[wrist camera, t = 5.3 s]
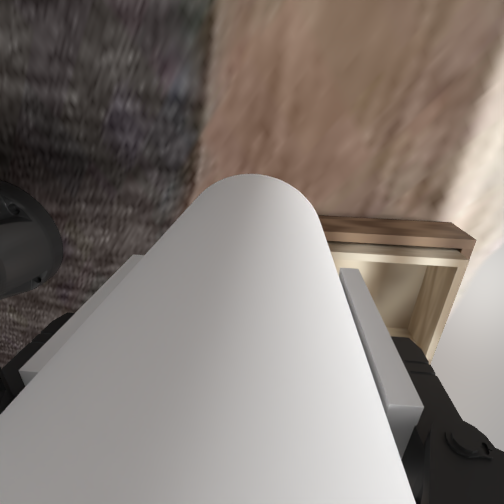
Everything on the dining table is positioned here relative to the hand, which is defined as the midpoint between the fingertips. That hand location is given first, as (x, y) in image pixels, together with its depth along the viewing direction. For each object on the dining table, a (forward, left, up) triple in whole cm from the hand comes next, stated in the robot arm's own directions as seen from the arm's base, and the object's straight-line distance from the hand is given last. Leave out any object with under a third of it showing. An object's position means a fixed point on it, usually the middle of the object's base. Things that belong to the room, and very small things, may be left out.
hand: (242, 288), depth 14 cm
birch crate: (+13, -12, -22) cm, 28 cm away
